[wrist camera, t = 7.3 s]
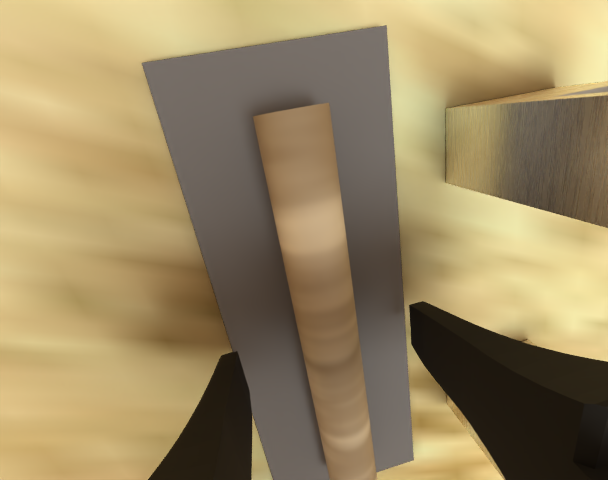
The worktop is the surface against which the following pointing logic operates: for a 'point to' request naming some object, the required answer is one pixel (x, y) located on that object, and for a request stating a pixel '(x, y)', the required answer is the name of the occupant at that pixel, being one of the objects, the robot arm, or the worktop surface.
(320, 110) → the rail
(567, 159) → the hook stands
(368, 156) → the mat
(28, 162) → the worktop surface
